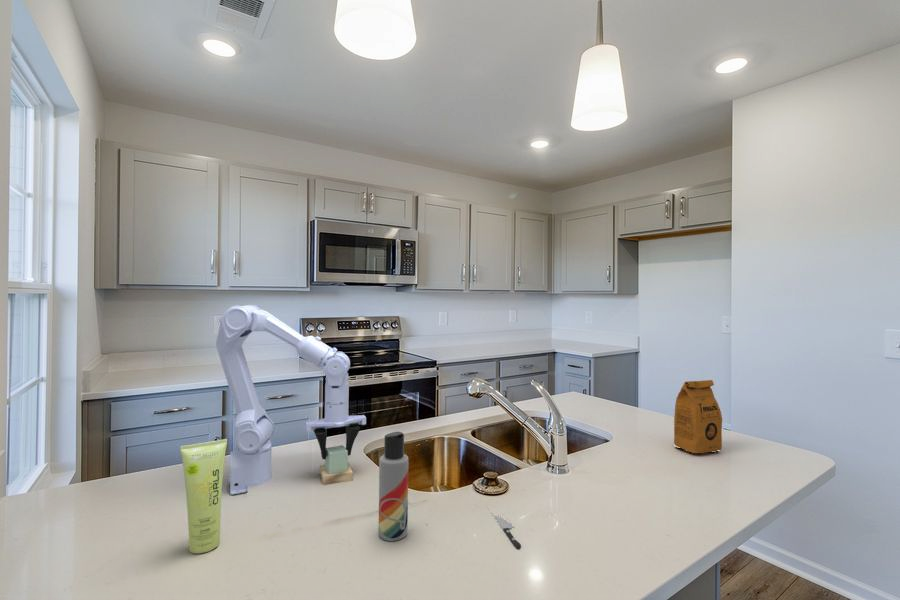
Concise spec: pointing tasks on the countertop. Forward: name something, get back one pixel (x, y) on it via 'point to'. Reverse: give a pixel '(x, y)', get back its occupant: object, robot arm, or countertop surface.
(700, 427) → the coffee package
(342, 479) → the tower top
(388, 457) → the lotion bottle
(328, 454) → the sage block
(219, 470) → the tube
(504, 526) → the chef's knife
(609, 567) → the countertop surface
